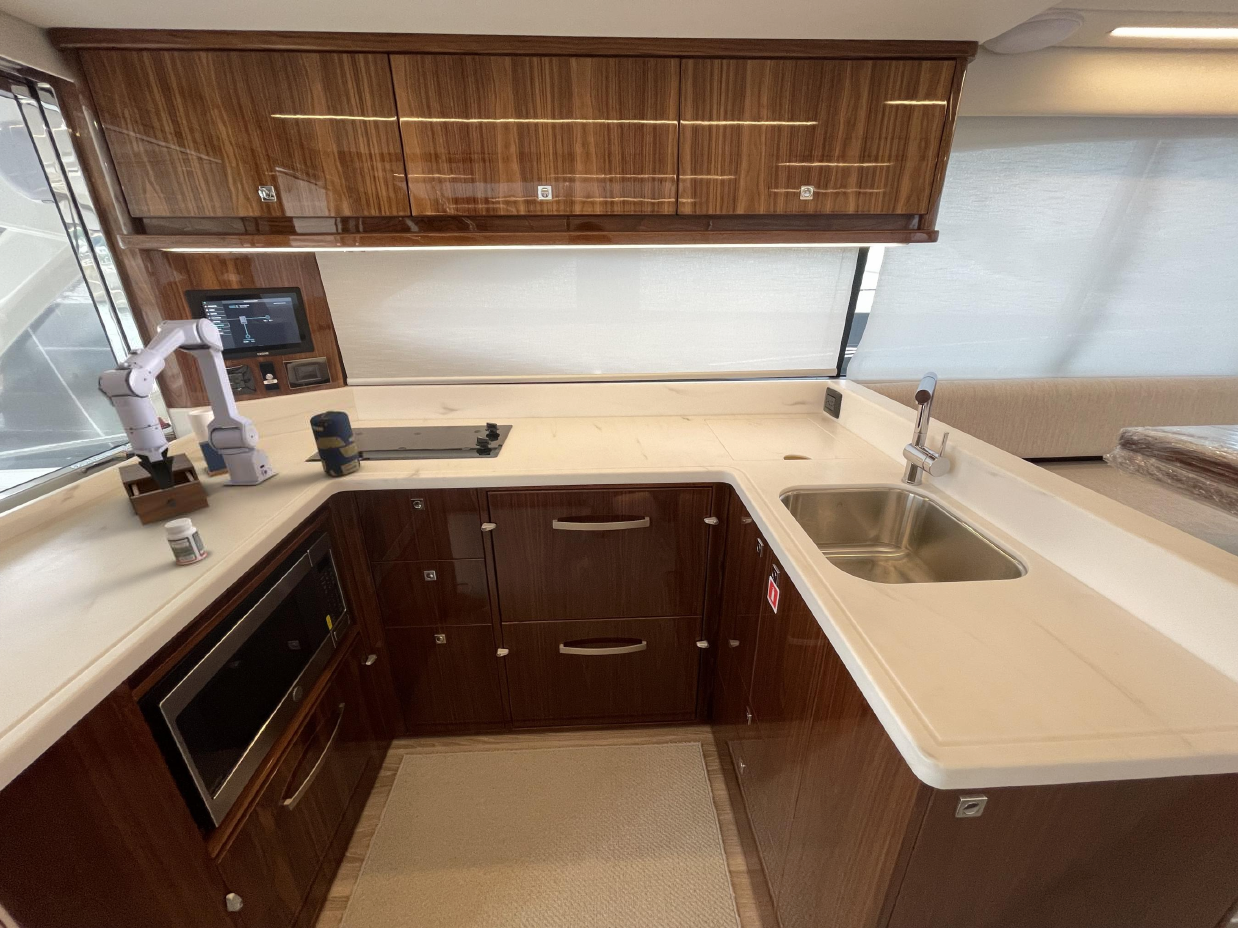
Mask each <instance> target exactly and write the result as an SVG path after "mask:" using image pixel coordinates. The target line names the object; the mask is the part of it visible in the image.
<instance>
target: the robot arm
mask: <svg viewBox="0 0 1238 928" xmlns="http://www.w3.org/2000/svg"><path fill="white" fill-rule="evenodd" d="M156 327H157V334H156V335H155V336H154V338H153V339H152V340H151V341H150V343H149V344H148V345H147V346H146V347H145V348H143V347H141V348H133V349H130V350H129V355H128V356H127V357H125V359H124V360H123V361H122V362H119V363H118V364H117V366H116V367H115V368H114V370H106V371H104V372H103V373H101V374H100V375H99V377H98V379H97V385H98V386H97V388H96V389H97V391H98V392H99V393H100V394H101V396H103V397H104V398H106V400H107V401H108V403H109V405H110V406H111V407H112V408H114V409H115V411H116V414H117V416H118V419H119V420H120V423H121V425H122V428H123V430H124V433H125V435H126V437H127V440H128V442H129V444H130V446H131V447H130V448H126V449H125V450H124V451H125V453H126V454H127V455H129V454H134V455H135V457H137V458H138V459H139V461H137V463H139V465H140V466H141V467H142V468H144V469H145V470H146V471H147V472H148V473H149V474H150V475H151V476H152V477H153V479H154V480H155V482H156V483H157V485H158V486H159V487H160V489H161V490H165V489H169V488H173V487H174V481H173V474H172V464H173V460H174V457H173V455H168V454H169V449H170V448H169V446H170V443H169V441H167V438H166V436H165V433H164V431H163V429H162V426H161V423H160V421H159V418H158V416H157V413H156V411H155V407H154V406H153V403H152V400H151V398H150V394H152V392H153V386H154V385H153V383H154V382H155V378H157V376H158V375H159V374H160V373H161V372H162V371H163V370H164V368H165V367H166V362H165V359H166V358H167V357H168V356H169V355H170V354H172V353H173V352H174V351H175V350H179V351H182V352H185V353H189V354H190V355H192V356H193V357H194V358H196V359H197V362H198V366H199V369H200V370H199V371H200V373H201V377H202V380H203V383H204V387H205V390H206V391H205V392H206V395H207V397H208V401H209V405H210V407H211V408H210V409H212V411H213V415H214V419H213V420H212V421H211V422H210V423H209V424H208V425H207V428H208V442H209V444H210V446H211V447H212V448H213V449H214V450H216V451H218V453H219V454H222V455H223V458H224V461H225V464H226V467H227V470H228V475H229V477H230V480H228V481H226V482H224V483H223V485H224V486H256V485H258V484H261V483H263V481H265V480H267V479H269V478H271V477H273V476H275V475H276V472H273V468H272V466H271V462H270V459H269V456H268V454H267V452H265V451H264V450H262V449H258V448H256V447H257V445H258V443H259V433H258V431H257V429H256V428H255V426H254V424H253V421H252V419H250V418H248V417H246V416H244V415H241V414H239V412H238V408H237V405H236V401H235V397H234V394H233V390H232V386H231V382H230V379H229V375H228V372H227V368H226V364H225V360H224V357H223V353H222V352H223V351H224V347H223V342H222V338H221V335H220V331H219V328H218V326H217V325H215V323H213V322H212V321H211V320H210V319H208V318H206V317H205V318H198V319H178V320H170V319H165V320H163V321H162V322H160V324H159V325H157V326H156ZM168 456H169V457H168Z"/></svg>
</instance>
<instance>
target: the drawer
mask: <svg viewBox="0 0 1238 928" xmlns="http://www.w3.org/2000/svg"><path fill="white" fill-rule="evenodd" d="M173 481H174V487H173V488H169V489H165V490H161V489H160V487H159V486H158V485H157V483H156V482H155V480H154V479H149V480H145V481H140V482H136V483H132V484H131V485H132V489H133V492H134V495H135V496H133V497H131V500H132V502H133V504H134V507H135V509H136V511H137V513H138V514H137V516H138V518H139V520H140V523H141V525H142V526H145V525H149V524H152V523H155V522H159V521H163V520H166V519H170V518H174V517H177V516H180V515H184V514H188V513H191V512H195V511H198V510H202V509H205V508H210V504H209V501H208V499H207V496H206V494H205V491H204V488H203V485H202V484H201V481H200V479H199V480H197V481H195V480H194V478H193V477H192V475H191V474H190V472H189V471H188V470H187V471H183V472H178V473H174V474H173Z"/></svg>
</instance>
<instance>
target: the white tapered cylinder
mask: <svg viewBox="0 0 1238 928" xmlns="http://www.w3.org/2000/svg"><path fill="white" fill-rule="evenodd" d="M187 417H188V420H189V423H190V425H191V428H192V430H193V432H194V434H195V436H196V438H197V440H198V443H200V442H205V441H208V428H207V425H208V424H209V423H210V422H211V421H212V420H213V419H214V415H213V411H212V408H204V409H197V410H192V411H190V412H188V413H187Z"/></svg>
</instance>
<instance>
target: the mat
mask: <svg viewBox="0 0 1238 928" xmlns="http://www.w3.org/2000/svg"><path fill="white" fill-rule="evenodd" d="M204 469H205V471H206V472H207V473H208V474H209V476H210V477H216V476H221V475H225V474H227V473H228V474H229V472H228V470H227V468H225V469H221V470H217V471H213V472H210V471H209V470H208V467H207V466H204Z"/></svg>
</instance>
